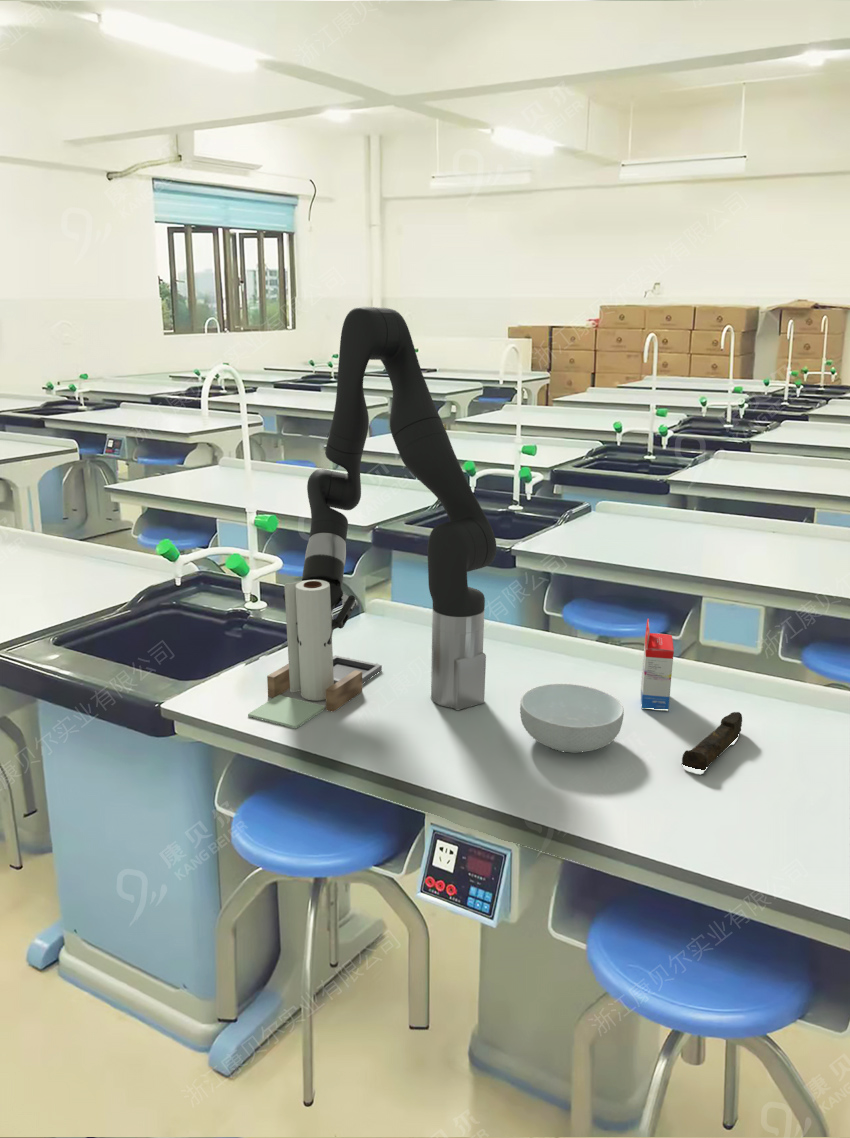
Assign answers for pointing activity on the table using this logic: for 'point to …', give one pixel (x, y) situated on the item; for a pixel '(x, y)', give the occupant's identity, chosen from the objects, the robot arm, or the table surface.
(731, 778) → the table surface
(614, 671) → the table surface
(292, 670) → the paper towel roll
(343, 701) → the walnut guide channel
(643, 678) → the ink box
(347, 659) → the gray square tray
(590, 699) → the cereal bowl
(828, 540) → the table surface
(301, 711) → the sage pad
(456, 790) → the table surface
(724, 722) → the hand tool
